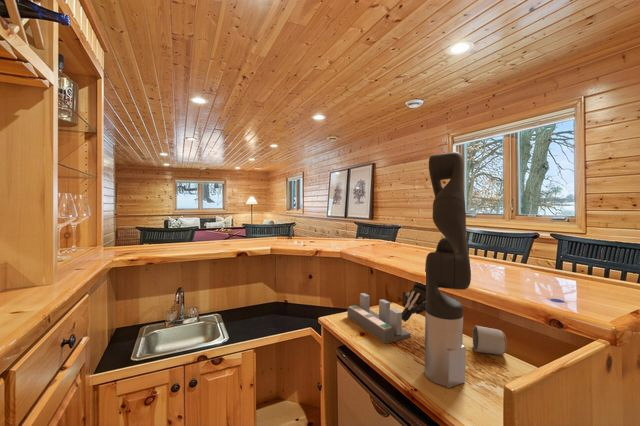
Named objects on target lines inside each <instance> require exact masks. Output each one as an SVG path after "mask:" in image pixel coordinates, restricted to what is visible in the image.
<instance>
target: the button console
mask: <svg viewBox="0 0 640 426" xmlns="http://www.w3.org/2000/svg"><path fill="white" fill-rule="evenodd" d="M347 318H348V319H349V320H351V321H352V322H353V323H355V324H357V325H358V326H359V327H361V328H362V329H364V330H365V331H366V332H368V333H369V334H371V335H372V336H373V337H375V338H376V339H377V340H379V341H381V342H382V343H383V344H388V343H392V342H396V341H400V340H404V339H409V338H411V336H412V335H411V333H410V332H409V331H407V330H405V329H403V328H402V334H400V335H396V334H394V328H392V327H391V326H389V323H384V322H383V321H381V320H379V313H376V312H375V311H373V310H371V309H370V313H368V312H366V311H365V310H363V309H361V308H360V306H359V305H356V304H355V305H350V306H347Z"/></svg>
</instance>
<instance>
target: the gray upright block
mask: <svg viewBox="0 0 640 426" xmlns="http://www.w3.org/2000/svg"><path fill="white" fill-rule="evenodd" d="M390 309H391V302H390V301H388V300H386V299H379V300H378V315H379V320H381V321H383V322H384V323H389V318H390Z"/></svg>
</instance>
